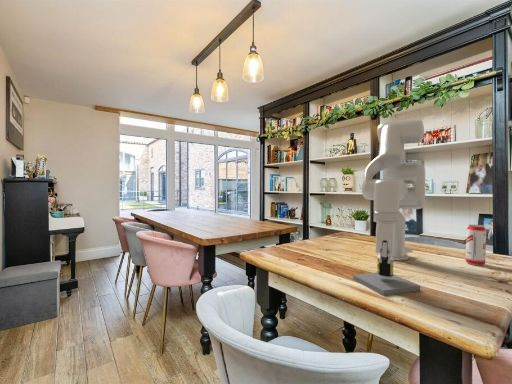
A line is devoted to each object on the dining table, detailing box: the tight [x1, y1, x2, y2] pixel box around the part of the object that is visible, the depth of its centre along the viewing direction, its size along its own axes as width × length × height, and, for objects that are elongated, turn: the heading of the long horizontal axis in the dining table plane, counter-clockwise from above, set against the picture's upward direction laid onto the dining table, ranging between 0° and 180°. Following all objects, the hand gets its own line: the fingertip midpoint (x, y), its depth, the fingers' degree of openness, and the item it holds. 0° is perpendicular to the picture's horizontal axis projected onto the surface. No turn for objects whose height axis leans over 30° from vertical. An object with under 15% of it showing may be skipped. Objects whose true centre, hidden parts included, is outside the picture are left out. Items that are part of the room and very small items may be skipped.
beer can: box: [465, 224, 487, 267], centre depth 110 cm, size 6×6×16 cm
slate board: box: [352, 271, 421, 296], centre depth 88 cm, size 14×14×2 cm
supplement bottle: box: [376, 251, 394, 278], centre depth 88 cm, size 5×5×8 cm
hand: (385, 272), depth 88 cm, fingers closed on supplement bottle, 4 cm apart
